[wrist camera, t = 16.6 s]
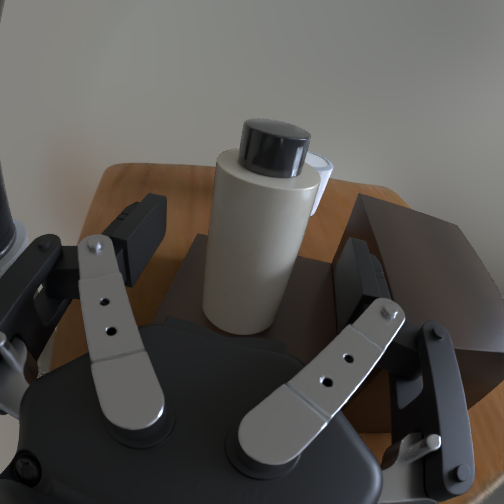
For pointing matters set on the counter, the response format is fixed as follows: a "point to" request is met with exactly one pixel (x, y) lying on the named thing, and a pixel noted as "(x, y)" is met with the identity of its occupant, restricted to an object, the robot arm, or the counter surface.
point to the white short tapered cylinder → (323, 169)
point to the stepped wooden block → (401, 292)
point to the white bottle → (257, 225)
